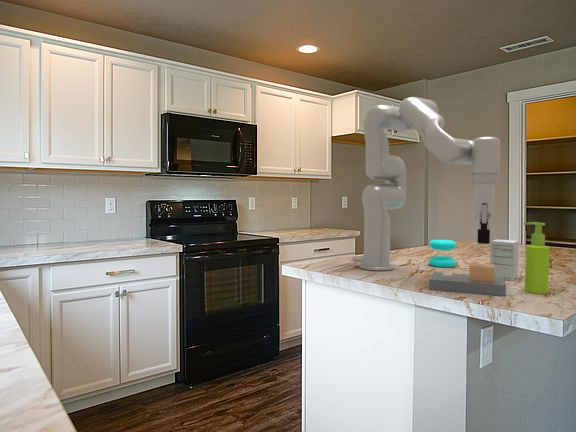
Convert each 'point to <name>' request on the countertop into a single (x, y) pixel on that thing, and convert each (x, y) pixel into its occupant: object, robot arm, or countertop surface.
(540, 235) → the soap dispenser
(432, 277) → the socket
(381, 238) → the robot arm
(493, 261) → the supplement box
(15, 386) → the countertop surface
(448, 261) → the donuts
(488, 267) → the plug
